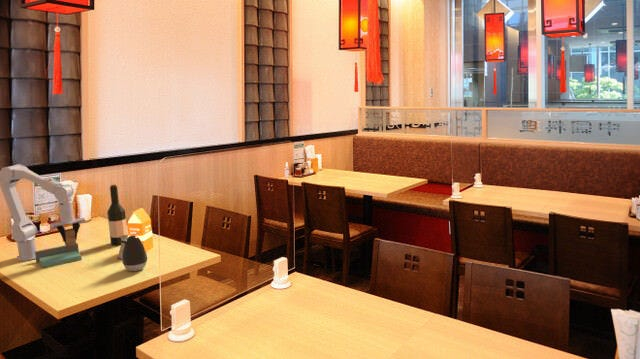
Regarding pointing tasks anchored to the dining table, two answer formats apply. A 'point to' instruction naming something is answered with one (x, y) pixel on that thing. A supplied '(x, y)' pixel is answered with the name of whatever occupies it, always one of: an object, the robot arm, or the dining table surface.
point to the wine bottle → (116, 218)
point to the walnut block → (70, 237)
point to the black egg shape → (134, 254)
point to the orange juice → (141, 228)
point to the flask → (122, 246)
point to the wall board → (57, 255)
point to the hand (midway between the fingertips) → (69, 240)
